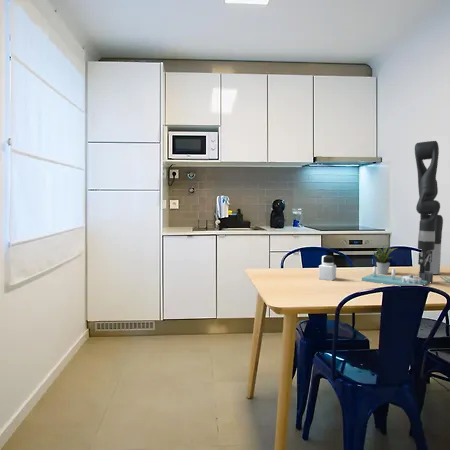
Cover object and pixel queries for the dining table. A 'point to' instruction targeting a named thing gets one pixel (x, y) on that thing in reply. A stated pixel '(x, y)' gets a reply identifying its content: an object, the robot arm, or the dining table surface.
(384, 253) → the house plant
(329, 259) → the medicine bottle
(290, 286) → the dining table surface
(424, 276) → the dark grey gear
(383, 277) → the gear board
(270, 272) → the dining table surface
